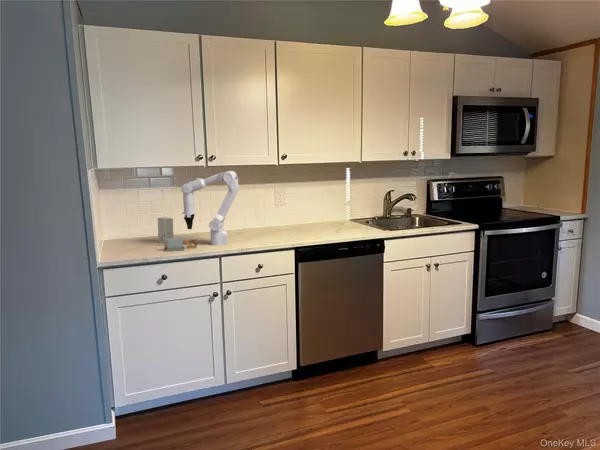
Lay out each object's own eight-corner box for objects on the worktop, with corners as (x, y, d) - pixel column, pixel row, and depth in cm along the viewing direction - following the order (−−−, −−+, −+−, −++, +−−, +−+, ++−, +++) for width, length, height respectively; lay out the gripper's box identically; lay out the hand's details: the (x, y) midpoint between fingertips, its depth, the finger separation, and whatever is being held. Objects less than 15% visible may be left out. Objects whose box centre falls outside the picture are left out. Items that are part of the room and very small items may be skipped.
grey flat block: (168, 251, 246) (167, 238, 245) (183, 250, 247) (182, 237, 246) (167, 251, 244) (167, 239, 243) (183, 250, 246) (182, 238, 245)
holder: (184, 250, 249) (184, 246, 249) (184, 252, 245) (184, 247, 244) (167, 251, 247) (167, 247, 247) (167, 253, 243) (166, 248, 243)
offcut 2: (195, 248, 256) (194, 245, 256) (194, 250, 252) (194, 247, 252) (188, 249, 255) (188, 246, 255) (188, 250, 251) (188, 247, 251)
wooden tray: (197, 245, 262) (196, 239, 262) (196, 249, 251) (196, 243, 250) (167, 246, 259) (166, 240, 259) (165, 251, 247) (164, 245, 247)
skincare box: (158, 242, 273) (156, 217, 270) (166, 240, 277) (165, 216, 275) (165, 244, 267) (164, 219, 265) (174, 242, 272) (173, 217, 269)
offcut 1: (193, 246, 255) (193, 243, 255) (194, 247, 252) (194, 244, 252) (188, 246, 254) (188, 243, 254) (188, 247, 251) (188, 244, 251)
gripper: (182, 203, 264) (183, 226, 266) (180, 206, 250) (182, 230, 252) (194, 202, 265) (195, 225, 267) (193, 205, 251) (195, 230, 253)
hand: (190, 228), depth 260 cm, fingers open, 7 cm apart
